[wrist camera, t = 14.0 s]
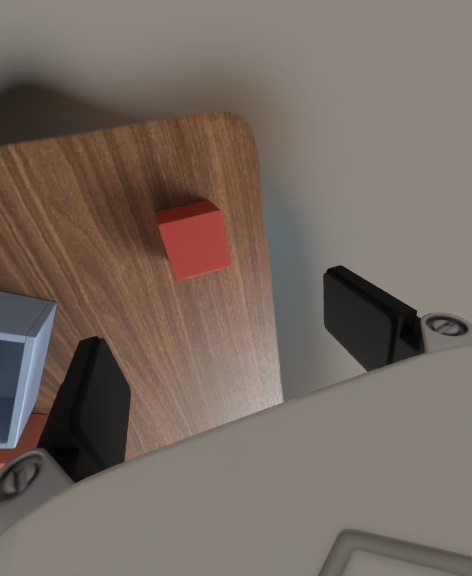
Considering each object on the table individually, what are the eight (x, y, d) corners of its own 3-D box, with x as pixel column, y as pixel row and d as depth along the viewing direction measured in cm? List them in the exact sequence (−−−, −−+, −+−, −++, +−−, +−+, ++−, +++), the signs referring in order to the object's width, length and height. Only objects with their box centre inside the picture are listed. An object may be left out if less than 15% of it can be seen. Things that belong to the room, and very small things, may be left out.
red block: (171, 261, 24) (175, 281, 20) (155, 211, 22) (157, 224, 18) (219, 248, 25) (231, 266, 21) (208, 199, 22) (220, 209, 19)
